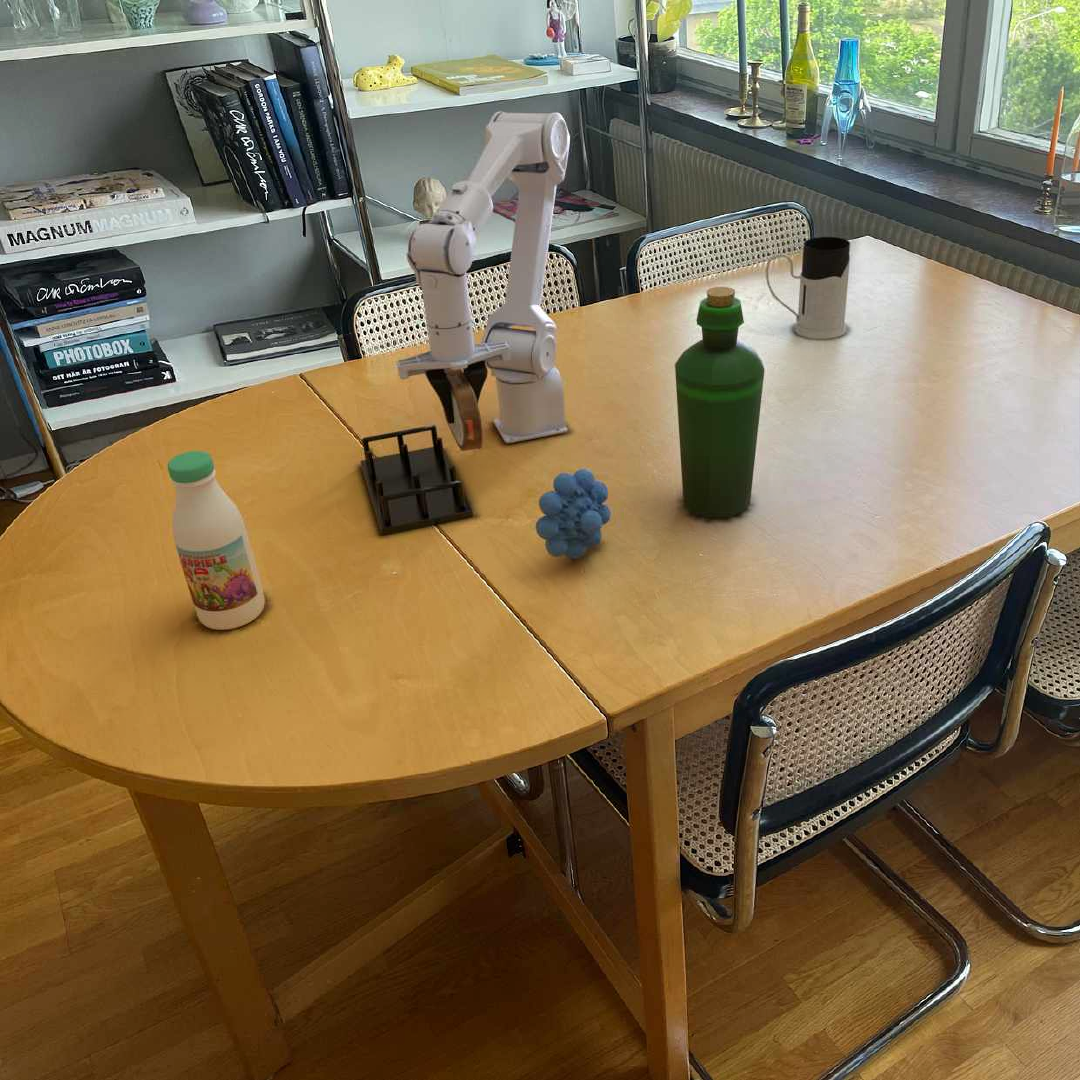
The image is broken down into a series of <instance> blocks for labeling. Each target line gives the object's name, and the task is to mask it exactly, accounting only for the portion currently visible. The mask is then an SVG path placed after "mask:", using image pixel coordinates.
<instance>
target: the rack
mask: <svg viewBox="0 0 1080 1080" xmlns="http://www.w3.org/2000/svg"><path fill="white" fill-rule="evenodd" d="M429 431H430V434H431V440H432V446H430V447H425V448H419V449H413V450H409V448H408V444H406V443H405V442H404V436H408V435H413V434H418V433H424V432H429ZM391 438H396V439H397V445H398V453H393V454H388V455H384V456H378V457H374V456H373V451H372V450H370V449H371V448H370V443H371V442H376V441H381V440H386V439H391ZM361 441H362V448H363V453H364V459H362V460H360V466H361V467H360V468H361V470H362V473H363V477H364V480H365V483H366V487H367V489H368V493H369V496H370V497H369V498H370V500H371V504H372V506H373V510H374V514H375V517H376V521H377V524H378V527H379V530H380V531H379V532H380V535H381V536H387V535H391V534H395V533H400V532H406V531H410V530H416V529H420V528H425V527H430V526H435V525H440V524H444V523H449V522H454V521H458V520H463V519H468V518H473V517H474V512H473V508H472V506H471V504H470V502H469V500H468V497H467V495H466V493H465V491H464V486H463V481H462V480H459V477H458V475H457V470H456V466H454V465H452V463H451V461H450V459H449V457H448V454H447V452H446V450H445V447H444V445H443V438H442V437H438V430H437V426H436V424H430V425H424V426H419V427H414V428H408V429H403V430H398V431H393V432H387V433H382V434H376V435H371V436H366V437H363V438H362V439H361Z"/></svg>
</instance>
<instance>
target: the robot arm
mask: <svg viewBox="0 0 1080 1080" xmlns="http://www.w3.org/2000/svg"><path fill="white" fill-rule="evenodd" d="M484 134H485V135H484V137H485V138H484V139H485V141H484V142H485V148H484V149H483V151H482V153H481V154H480V157H479V159H478V160H477V162H476V164H475V166H474V168H473V170H472V172H471V174H470V176H469V177H468V179H467V180H460V181H457V182H455V183H454V184H453V185H452V187H451V189H450V191H449V192H448V194H447V195H446V196H445V198H444V199H443V201H442V202H441V204H440V205H439V207H438V208H437V210H436V211H435V213H434V214H433V216H432V217H431V218H430V219H429V222H428V223H421V224H420V225H418V226H417V227H416V228H414V229H413V230H412V232H411V233H410V235H409V237H408V240H407V241H408V242H407V252H406V255H405V256H406V259H407V263H408V265H409V267H410V268H411V270H412V271H413V272H414V276H415V282H416V284H417V285H418V286H419V287H420V288H421V294H422V301H423V308H424V309H423V310H424V315H425V322H426V331H427V336H428V345H429V351H425V352H422V353H419V354H416V355H413V356H409V357H407V358H402V359H398V360H396V361H395V362H396V368H397V369H396V370H397V374H398V377H399V379H400V380H407V379H410V377H414V376H418V375H425V377H426V379H427V381H428V382H429V384H430V386H431V387H432V389H433V390H434V392H435V394H436V395H437V397H438V398H439V401H440V403H441V406H442V408H443V413H444V412H445V413H444V417H445V416H446V417H445V420H446V419H447V420H446V422H447V421H448V423H449V424H451V423H454V416H453V411H452V407H451V401H450V387H449V380H448V379H447V376H446V373H445V371H444V370H447V369H452V370H459V369H462V371H463V373H464V375H465V377H466V378H467V380H468V382H469V383H470V385H471V387H472V389H473V391H474V393H475V396H476V400H477V403H478V404H479V400H480V396H481V393H482V390H483V387H484V385H485V382H486V381H487V378H488V375H489V371H488V369H489V370H490V376H492V377H495V382H496V391H497V400H498V411H499V418H494V419H493V424H494V425H495V428H496V430H497V431H498V433H499V435H500V436H501V437H502V439H503V441H504V443H505V444H513V443H517V442H518V443H519V442H523V441H529V440H534V439H538V438H544V437H549V436H554V435H560V434H565V433H567V432H568V427H567V423H566V421H567V420H566V409H565V406H566V405H565V393H564V385H563V379H562V377H561V373H560V371H559V370H558V368H557V367H556V366H554V365H555V363H556V359H557V352H558V351H557V341H556V337H557V336H556V335H557V325H556V323H555V322H554V320H552V318H551V317H550V316H549V315H547V313H546V312H545V311H544V310H543V309H542V307H541V305H542V297H543V290H544V285H545V284H544V282H545V275H546V268H547V262H548V253H549V245H550V239H551V232H552V231H551V230H552V222H553V215H554V209H555V200H556V194H557V185H560V184H561V183H562V182H564V181H565V177H566V172H567V167H568V166H567V164H568V159H569V150H570V143H571V142H570V141H571V139H570V138H571V136H570V133H569V130H568V125H567V123H566V121H565V119H564V117H563V116H562V114H561V113H559V112H551V113H536V112H535V113H533V112H532V113H530V112H529V113H527V112H526V113H525V112H505V111H502V110H501V111H496V112H495V113H494V114H493V115H492V116H491V118H490V119H489V122H488V124H487V125H486V126H485V133H484ZM506 179H509V180H510V181H511V182H514V183H515V185H516V186H517V189H518V195H517V196H518V197H517V206H516V212H515V221H514V227H513V228H514V229H513V237H512V244H511V253H510V260H509V269H508V275H507V283H506V292H505V298H504V299H505V300H504V304H502V305H501V306H500V307H499V308H497V309H496V310H495V311H493V312H492V313H491V314H489V315H488V316H487V323H486V326H485V331H484V333H483V335H482V337H481V340H480V343H475V338H474V337H475V336H474V330H473V321H472V320H473V319H472V312H471V311H472V310H471V302H470V293H469V292H470V291H469V284H468V277H467V275H468V274H467V271H468V270H469V269H470V268H471V266H472V263H473V260H474V255H475V248H476V246H477V242H478V239H477V237H478V235H479V234H480V232H481V230H482V229H483V227H484V226H485V224H486V223H487V221H488V219H489V218H490V216H491V215H492V213H493V210H494V204H493V200H492V197H493V196H494V195H495V193H496V192H497V190H498V189H499V188H500V187H501V185H502V184H503V183H504V182H505V180H506ZM512 326H518V327H526V328H533V330H531V329H522V328H515V327H514V328H513V327H512ZM448 423H447V424H448Z"/></svg>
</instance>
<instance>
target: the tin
mask: <svg viewBox="0 0 1080 1080" xmlns="http://www.w3.org/2000/svg"><path fill="white" fill-rule="evenodd" d="M444 371H445V373H446V376H447V379H448V380H449V387H450V401H451V407H452V411H453V416H454V423H451V424H449V423H448V421H447V419H446V416H445V415H444V417H445V421H446V423H447V425H448V427H449V429H450V432H451V434H452V436H453V438H454V440H455V443H456V444H457V446H458V448H459V449H460V450H461V451H464V452H465V451H472V450H481V449H482V448H483V442H484V441H483V440H484V439H483V438H484V435H483V425H482V417H481V413H480V412H481V411H480V407H479V402H478V403H477V400H476V396H475V393H474V391H473V389H472V387H471V385H470V383H469V382H468V380H467V378H466V377H465V375H464V373H463V369H459V370H452V369H447V370H444ZM443 413H444V414H445V412H444V411H443Z"/></svg>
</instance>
